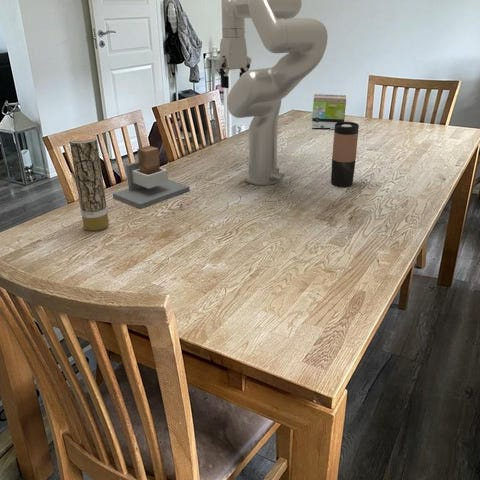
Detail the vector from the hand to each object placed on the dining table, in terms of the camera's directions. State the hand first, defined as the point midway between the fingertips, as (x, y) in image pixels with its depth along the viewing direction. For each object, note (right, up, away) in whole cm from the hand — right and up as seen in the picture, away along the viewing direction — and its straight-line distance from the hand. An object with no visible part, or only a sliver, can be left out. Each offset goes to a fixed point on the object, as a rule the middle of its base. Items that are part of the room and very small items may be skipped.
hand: (234, 85), depth 175 cm
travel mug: (+36, -36, -9) cm, 52 cm away
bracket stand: (-26, -40, -16) cm, 51 cm away
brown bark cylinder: (-38, -51, -38) cm, 74 cm away
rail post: (-26, -36, -19) cm, 48 cm away
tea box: (+44, -1, +62) cm, 76 cm away
